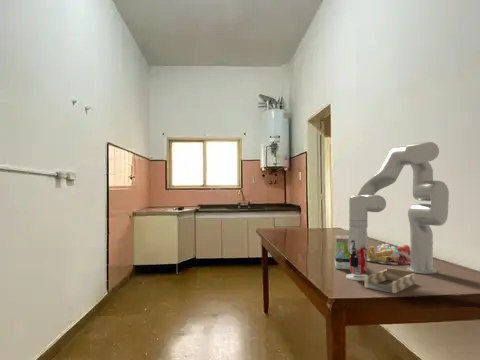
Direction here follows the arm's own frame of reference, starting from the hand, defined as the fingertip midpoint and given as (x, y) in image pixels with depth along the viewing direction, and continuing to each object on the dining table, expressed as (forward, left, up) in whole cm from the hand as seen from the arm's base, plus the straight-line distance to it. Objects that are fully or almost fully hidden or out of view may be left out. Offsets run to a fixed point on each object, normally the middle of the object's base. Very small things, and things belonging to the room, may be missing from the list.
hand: (358, 264), depth 166 cm
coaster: (0, 0, -6) cm, 6 cm away
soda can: (0, 0, -4) cm, 4 cm away
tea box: (-19, -16, -6) cm, 25 cm away
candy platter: (-49, -7, -6) cm, 50 cm away
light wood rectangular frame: (+3, +15, -6) cm, 16 cm away
